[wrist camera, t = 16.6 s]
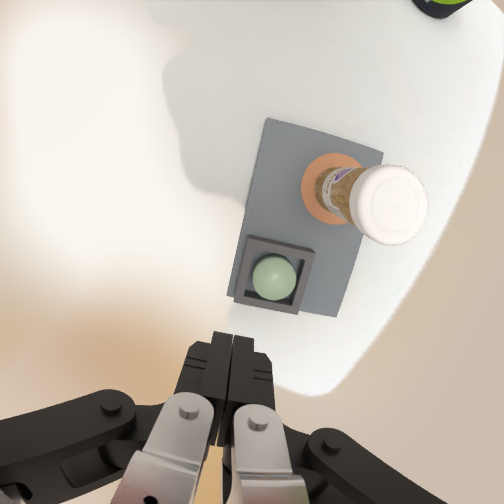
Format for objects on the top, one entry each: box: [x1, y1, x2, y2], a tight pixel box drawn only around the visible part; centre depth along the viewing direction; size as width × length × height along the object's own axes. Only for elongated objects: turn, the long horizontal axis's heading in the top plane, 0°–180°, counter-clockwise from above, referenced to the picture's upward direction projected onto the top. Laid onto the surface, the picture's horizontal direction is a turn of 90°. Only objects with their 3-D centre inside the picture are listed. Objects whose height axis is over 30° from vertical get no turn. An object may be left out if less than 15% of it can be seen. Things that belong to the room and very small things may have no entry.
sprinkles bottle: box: [315, 165, 428, 246], centre depth 21 cm, size 5×5×13 cm
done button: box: [253, 253, 296, 300], centre depth 29 cm, size 4×4×2 cm
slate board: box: [227, 118, 383, 317], centre depth 28 cm, size 18×12×3 cm, turn 167°
